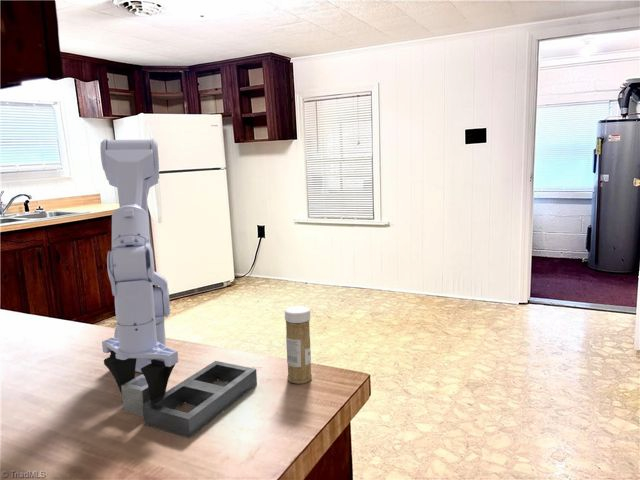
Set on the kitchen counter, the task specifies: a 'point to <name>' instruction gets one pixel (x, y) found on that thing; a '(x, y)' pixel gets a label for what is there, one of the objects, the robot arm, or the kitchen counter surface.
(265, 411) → the kitchen counter surface
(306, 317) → the sprinkles bottle
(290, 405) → the kitchen counter surface
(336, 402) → the kitchen counter surface
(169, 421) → the grey rectangular tray
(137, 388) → the gray block
